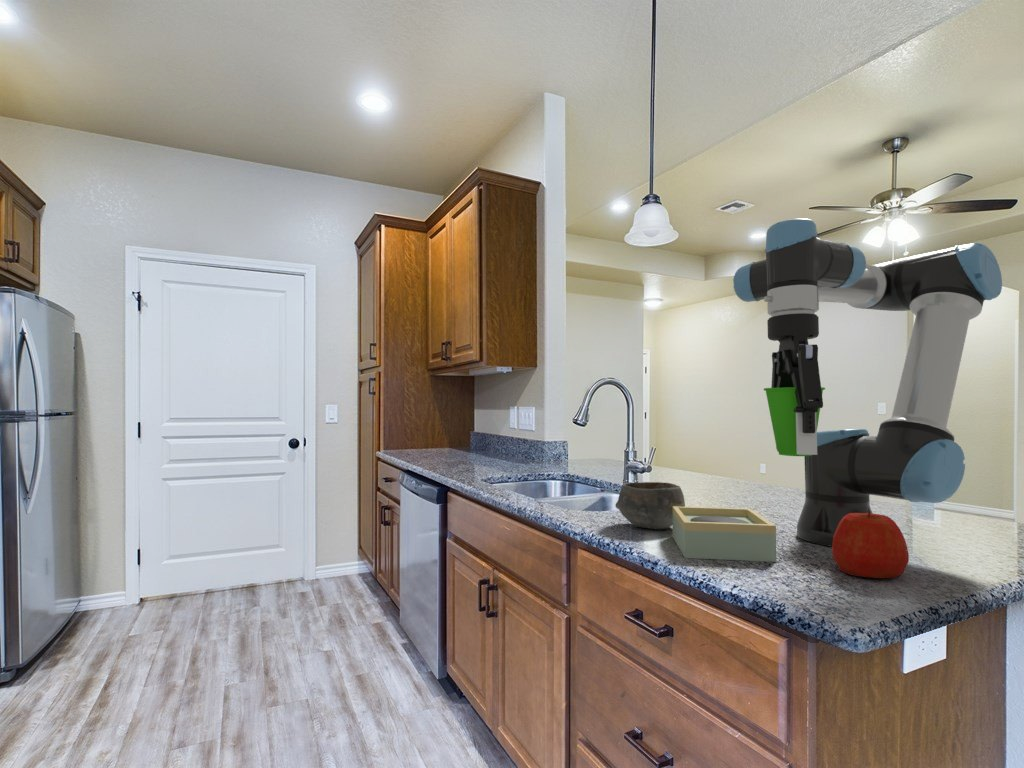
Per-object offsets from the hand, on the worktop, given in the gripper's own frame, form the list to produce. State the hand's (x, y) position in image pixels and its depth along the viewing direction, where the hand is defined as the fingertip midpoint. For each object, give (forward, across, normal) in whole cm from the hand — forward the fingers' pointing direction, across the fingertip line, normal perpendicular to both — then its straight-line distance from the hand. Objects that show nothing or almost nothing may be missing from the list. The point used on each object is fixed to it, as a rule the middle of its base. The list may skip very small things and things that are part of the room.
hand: (795, 451), depth 88 cm
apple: (+21, -5, +13) cm, 25 cm away
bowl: (+21, -34, -20) cm, 45 cm away
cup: (+1, 0, 0) cm, 1 cm away
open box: (+21, -18, -8) cm, 29 cm away
